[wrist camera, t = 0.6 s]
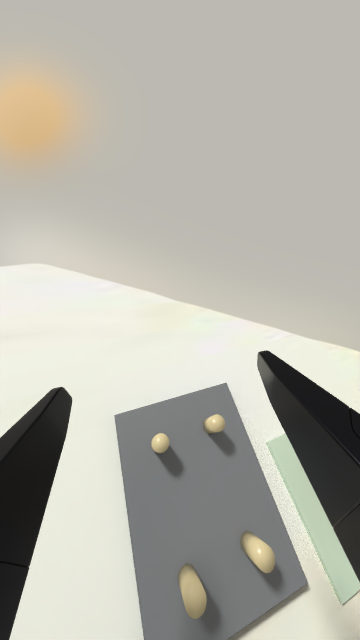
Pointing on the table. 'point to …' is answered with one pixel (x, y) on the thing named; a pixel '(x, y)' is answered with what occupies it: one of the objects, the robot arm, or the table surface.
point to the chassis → (201, 519)
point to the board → (314, 519)
